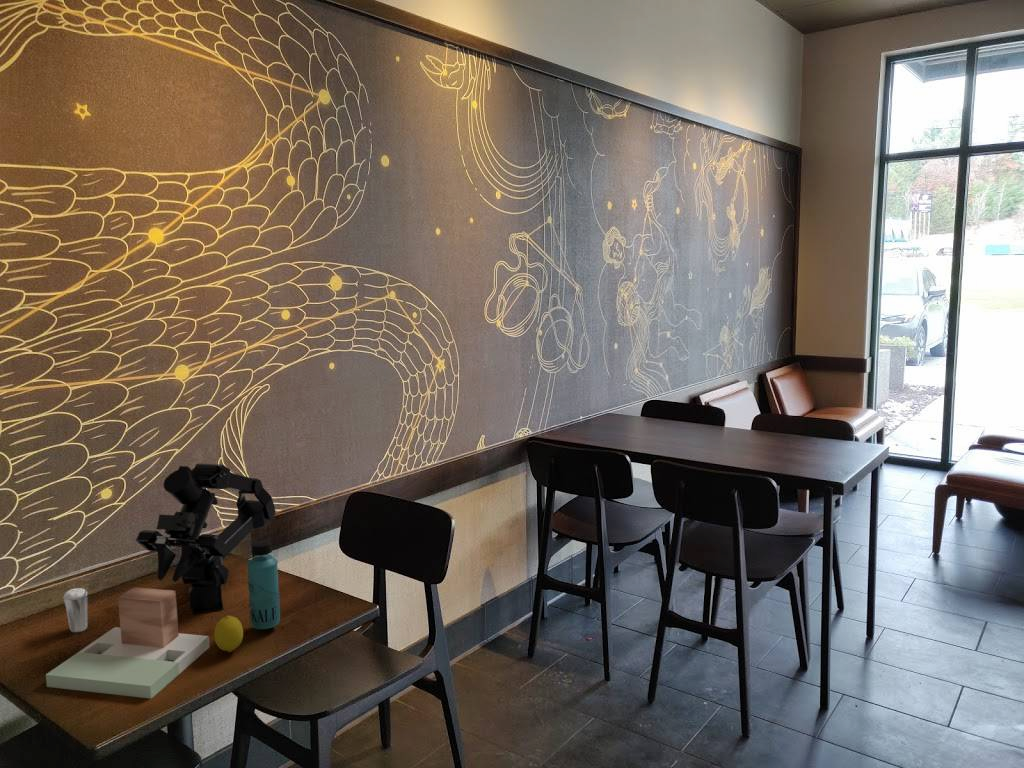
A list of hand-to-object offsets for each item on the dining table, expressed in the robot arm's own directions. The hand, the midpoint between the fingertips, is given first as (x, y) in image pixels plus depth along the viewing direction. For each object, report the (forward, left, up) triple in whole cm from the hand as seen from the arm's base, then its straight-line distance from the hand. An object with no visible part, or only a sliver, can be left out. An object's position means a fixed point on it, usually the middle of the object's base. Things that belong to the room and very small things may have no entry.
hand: (166, 580), depth 160 cm
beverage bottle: (-19, +6, -13) cm, 24 cm away
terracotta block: (+4, +5, -10) cm, 12 cm away
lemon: (-11, +13, -13) cm, 21 cm away
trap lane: (+7, +10, -13) cm, 18 cm away
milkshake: (+18, -11, -13) cm, 25 cm away
